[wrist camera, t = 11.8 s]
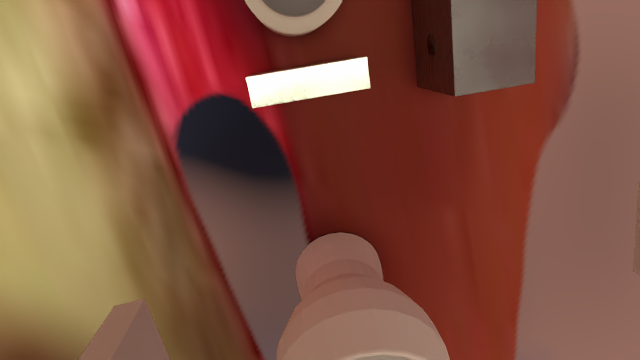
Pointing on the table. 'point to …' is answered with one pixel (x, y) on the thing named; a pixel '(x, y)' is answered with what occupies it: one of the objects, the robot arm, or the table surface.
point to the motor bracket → (429, 54)
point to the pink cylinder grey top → (293, 14)
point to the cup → (353, 309)
